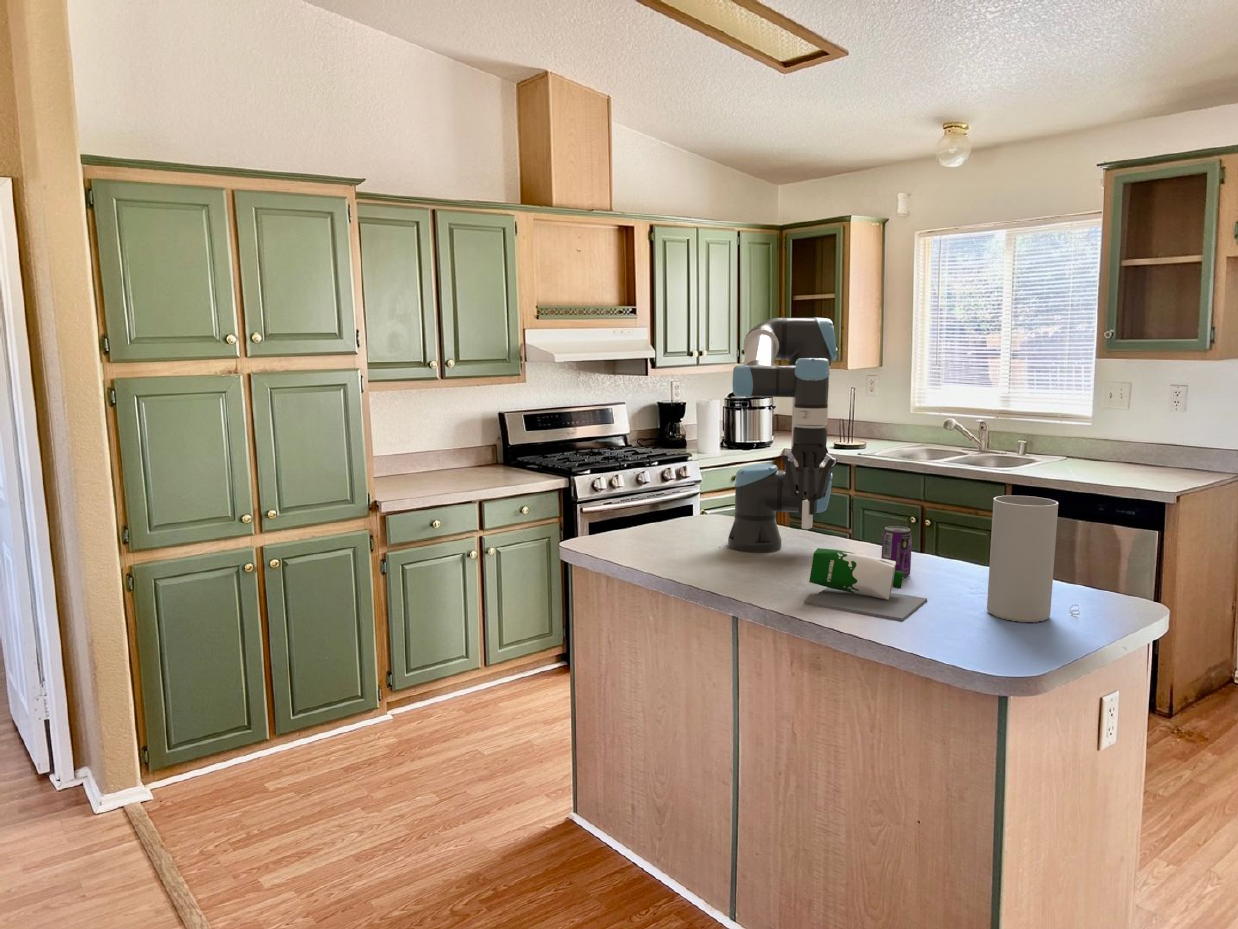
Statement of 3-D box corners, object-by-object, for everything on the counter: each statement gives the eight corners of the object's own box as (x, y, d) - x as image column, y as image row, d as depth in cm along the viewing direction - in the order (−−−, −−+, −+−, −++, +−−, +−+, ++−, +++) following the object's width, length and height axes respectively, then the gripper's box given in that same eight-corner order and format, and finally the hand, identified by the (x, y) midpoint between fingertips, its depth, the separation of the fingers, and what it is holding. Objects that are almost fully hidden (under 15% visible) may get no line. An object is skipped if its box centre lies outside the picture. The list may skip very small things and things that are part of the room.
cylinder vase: (976, 606, 198) (983, 495, 195) (1030, 605, 199) (1038, 495, 196) (1004, 624, 186) (1012, 506, 183) (1062, 623, 187) (1070, 505, 184)
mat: (804, 603, 200) (804, 600, 200) (834, 585, 215) (834, 583, 215) (902, 621, 188) (902, 618, 188) (927, 601, 203) (927, 598, 203)
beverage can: (911, 579, 220) (914, 532, 219) (881, 578, 222) (884, 531, 220) (908, 572, 227) (910, 526, 226) (879, 571, 229) (881, 525, 227)
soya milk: (812, 579, 213) (899, 596, 207) (807, 587, 205) (897, 605, 198) (818, 543, 212) (905, 559, 205) (813, 549, 203) (904, 567, 197)
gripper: (776, 425, 204) (774, 527, 207) (831, 429, 197) (827, 534, 200) (790, 423, 210) (787, 522, 213) (843, 426, 203) (840, 528, 206)
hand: (807, 527), depth 206 cm, fingers closed
